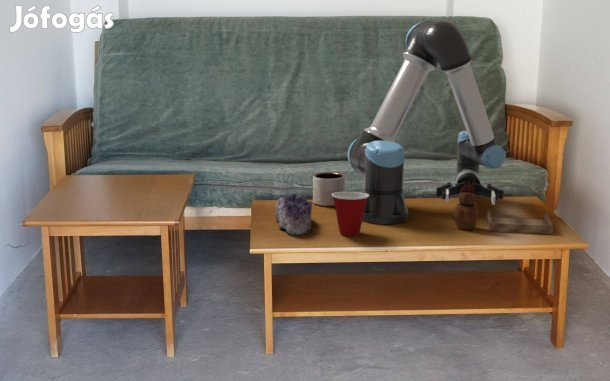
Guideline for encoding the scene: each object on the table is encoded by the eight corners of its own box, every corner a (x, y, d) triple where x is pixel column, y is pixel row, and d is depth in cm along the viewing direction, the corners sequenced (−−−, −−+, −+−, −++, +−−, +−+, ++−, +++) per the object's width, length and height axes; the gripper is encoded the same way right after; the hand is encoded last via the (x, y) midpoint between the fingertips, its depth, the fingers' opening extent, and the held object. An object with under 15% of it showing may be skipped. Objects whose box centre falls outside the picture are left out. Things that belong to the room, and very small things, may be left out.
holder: (489, 231, 203) (489, 222, 203) (487, 218, 216) (487, 211, 215) (552, 234, 200) (552, 226, 199) (546, 221, 212) (547, 213, 212)
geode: (322, 235, 201) (318, 203, 198) (283, 242, 200) (278, 210, 197) (311, 214, 221) (307, 184, 218) (275, 220, 219) (270, 190, 216)
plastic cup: (371, 229, 206) (371, 189, 203) (365, 240, 196) (365, 198, 193) (335, 226, 209) (335, 188, 206) (327, 237, 199) (327, 196, 196)
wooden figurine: (479, 227, 207) (482, 178, 203) (473, 232, 202) (475, 182, 199) (458, 224, 210) (460, 175, 207) (451, 229, 206) (453, 179, 202)
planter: (332, 208, 229) (332, 180, 227) (306, 203, 235) (306, 176, 233) (351, 202, 237) (351, 174, 235) (325, 197, 244) (325, 170, 241)
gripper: (506, 196, 227) (512, 213, 207) (429, 193, 231) (427, 209, 211) (508, 173, 225) (514, 188, 205) (430, 171, 230) (428, 185, 209)
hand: (470, 199), depth 208 cm, fingers open, 13 cm apart
